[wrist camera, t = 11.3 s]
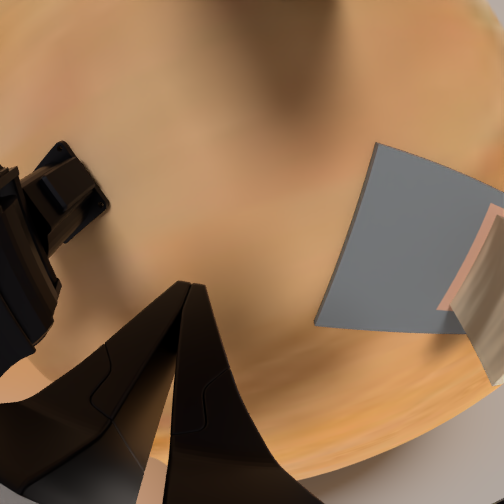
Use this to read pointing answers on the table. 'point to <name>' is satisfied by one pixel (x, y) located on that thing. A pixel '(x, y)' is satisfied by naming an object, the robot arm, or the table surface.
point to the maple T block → (485, 303)
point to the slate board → (409, 246)
